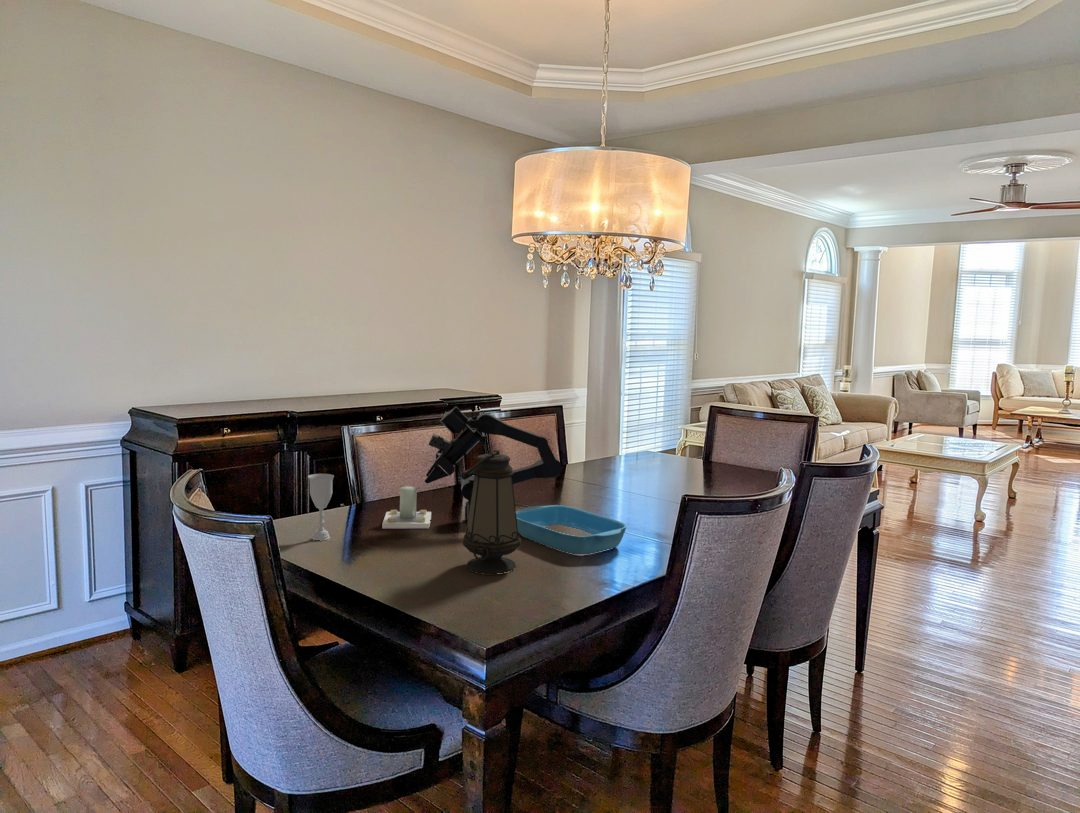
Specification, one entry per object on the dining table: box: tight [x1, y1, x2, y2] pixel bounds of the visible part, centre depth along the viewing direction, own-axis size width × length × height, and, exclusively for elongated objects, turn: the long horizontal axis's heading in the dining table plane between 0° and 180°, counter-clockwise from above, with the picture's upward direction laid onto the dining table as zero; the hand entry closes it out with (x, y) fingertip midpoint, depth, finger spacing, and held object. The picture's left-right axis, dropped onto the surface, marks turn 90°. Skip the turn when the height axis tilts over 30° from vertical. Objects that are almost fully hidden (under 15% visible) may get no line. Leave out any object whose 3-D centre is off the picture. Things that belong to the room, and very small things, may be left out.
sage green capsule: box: [399, 485, 417, 519], centre depth 225 cm, size 5×5×9 cm
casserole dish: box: [516, 504, 627, 554], centre depth 210 cm, size 37×22×7 cm, turn 40°
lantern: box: [460, 449, 522, 574], centre depth 185 cm, size 18×15×30 cm
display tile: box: [381, 509, 432, 529], centre depth 225 cm, size 14×14×2 cm
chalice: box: [307, 473, 335, 542], centre depth 205 cm, size 7×7×18 cm
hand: (426, 479), depth 225 cm, fingers open, 9 cm apart
